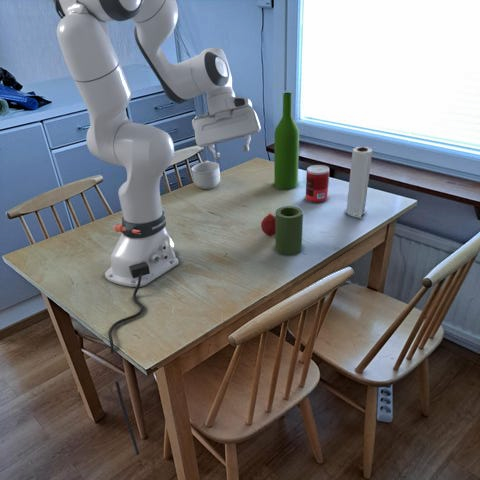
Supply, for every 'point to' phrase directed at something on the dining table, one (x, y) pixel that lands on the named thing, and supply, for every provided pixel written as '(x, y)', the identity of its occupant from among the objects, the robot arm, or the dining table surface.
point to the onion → (269, 225)
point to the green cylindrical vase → (289, 230)
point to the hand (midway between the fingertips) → (232, 155)
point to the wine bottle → (286, 148)
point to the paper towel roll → (358, 181)
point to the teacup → (206, 174)
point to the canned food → (317, 183)
